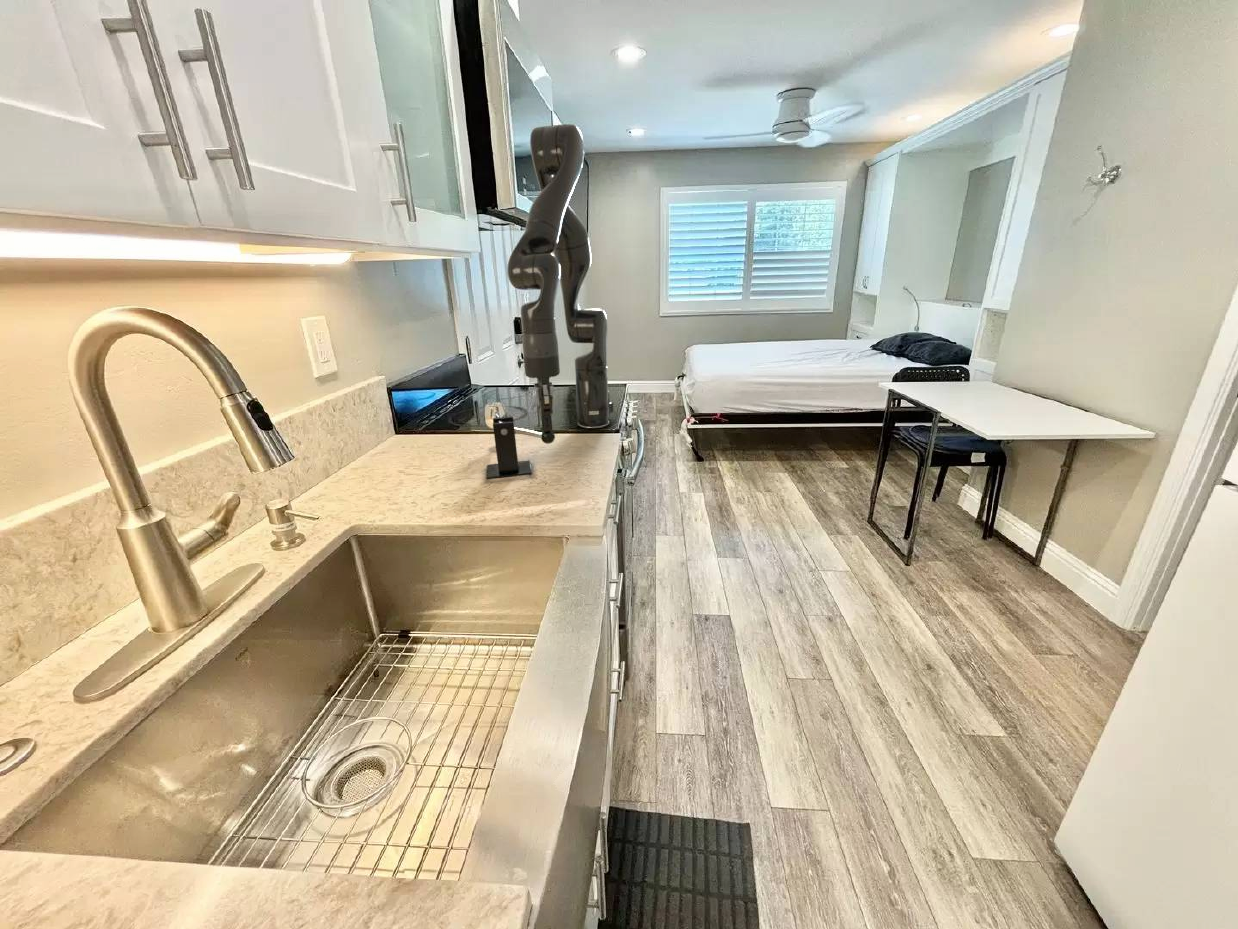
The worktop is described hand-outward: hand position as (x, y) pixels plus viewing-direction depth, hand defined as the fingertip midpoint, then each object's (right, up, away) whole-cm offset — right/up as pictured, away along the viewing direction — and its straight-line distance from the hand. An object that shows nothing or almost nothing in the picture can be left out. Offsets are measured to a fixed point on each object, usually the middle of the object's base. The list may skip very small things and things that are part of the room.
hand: (547, 430), depth 112 cm
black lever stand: (-9, -10, +2) cm, 14 cm away
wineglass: (-15, -4, +17) cm, 23 cm away
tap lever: (-5, -2, 0) cm, 5 cm away
